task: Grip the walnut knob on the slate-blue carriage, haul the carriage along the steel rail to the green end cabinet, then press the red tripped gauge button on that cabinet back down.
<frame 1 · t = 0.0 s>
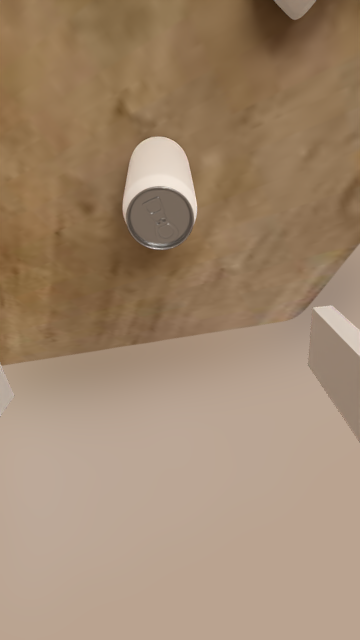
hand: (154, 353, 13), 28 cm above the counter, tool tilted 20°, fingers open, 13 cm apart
can: (159, 167, 35), on the counter
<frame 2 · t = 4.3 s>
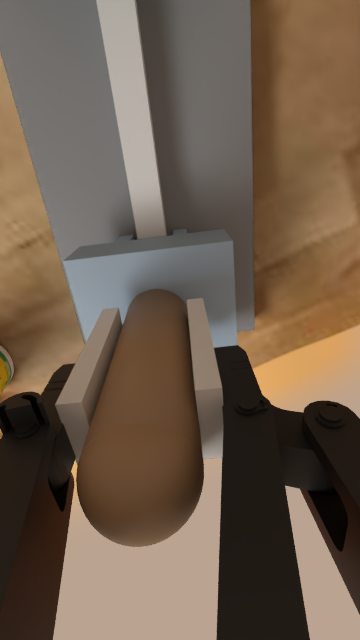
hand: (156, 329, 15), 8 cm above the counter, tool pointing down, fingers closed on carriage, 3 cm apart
track: (141, 138, 18), on the counter
carriage: (154, 348, 14), point 9 cm above the counter, slide at 0.0 cm, touching gripper
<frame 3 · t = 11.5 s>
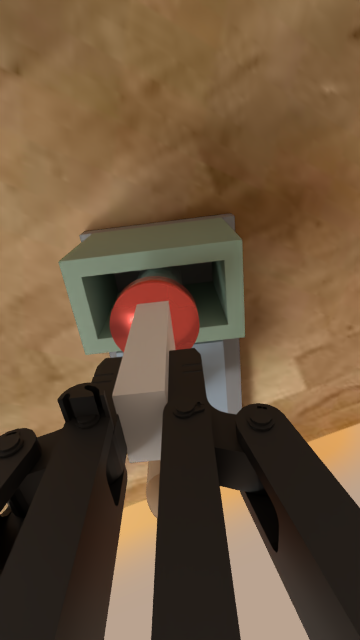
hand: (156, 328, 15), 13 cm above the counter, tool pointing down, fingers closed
gauge button: (158, 292, 20), point 8 cm above the counter, slide at 1.1 cm, touching gripper
track: (175, 353, 31), on the counter
carriage: (175, 411, 22), point 9 cm above the counter, slide at 9.5 cm
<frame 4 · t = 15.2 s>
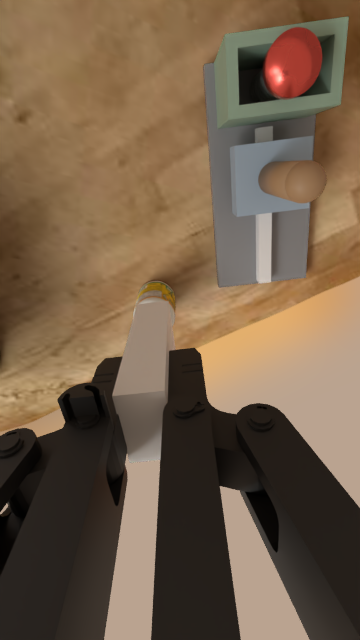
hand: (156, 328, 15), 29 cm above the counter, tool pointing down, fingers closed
gauge button: (277, 77, 29), point 7 cm above the counter, slide at 2.0 cm
track: (259, 184, 40), on the counter
carriage: (281, 179, 31), point 9 cm above the counter, slide at 9.5 cm
supplement bottle: (156, 296, 46), on the counter
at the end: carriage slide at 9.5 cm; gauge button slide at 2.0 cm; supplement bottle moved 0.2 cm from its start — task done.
